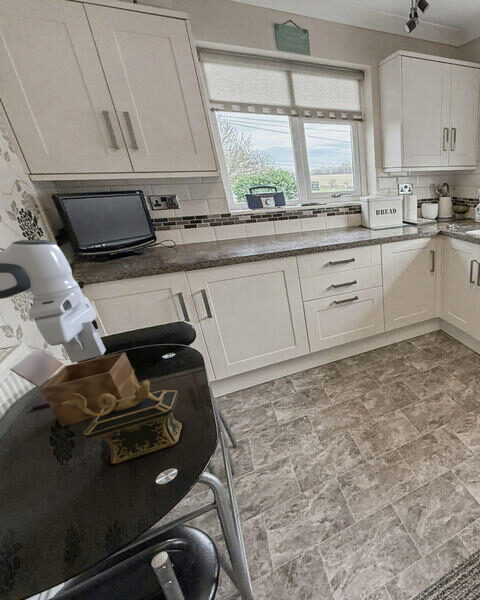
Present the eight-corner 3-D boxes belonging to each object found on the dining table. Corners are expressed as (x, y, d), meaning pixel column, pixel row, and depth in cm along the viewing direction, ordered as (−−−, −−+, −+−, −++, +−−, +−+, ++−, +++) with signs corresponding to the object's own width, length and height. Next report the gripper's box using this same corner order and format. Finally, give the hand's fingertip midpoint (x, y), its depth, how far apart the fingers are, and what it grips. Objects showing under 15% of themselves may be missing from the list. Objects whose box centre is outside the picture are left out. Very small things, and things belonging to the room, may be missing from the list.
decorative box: (190, 419, 88) (165, 356, 81) (184, 443, 80) (156, 375, 73) (99, 447, 81) (63, 381, 74) (82, 476, 73) (40, 405, 66)
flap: (39, 387, 86) (38, 387, 86) (63, 364, 97) (62, 364, 97) (10, 368, 82) (9, 369, 82) (39, 347, 93) (38, 347, 93)
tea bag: (102, 355, 93) (87, 323, 90) (71, 362, 90) (55, 330, 87) (106, 350, 96) (91, 319, 93) (76, 357, 94) (60, 325, 90)
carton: (61, 426, 90) (40, 389, 86) (82, 400, 101) (64, 366, 97) (127, 408, 96) (109, 372, 91) (139, 385, 107) (125, 352, 102)
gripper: (65, 291, 95) (85, 333, 100) (23, 315, 77) (50, 365, 82) (92, 287, 97) (110, 328, 102) (57, 309, 80) (82, 358, 85)
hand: (83, 345), depth 92 cm, fingers closed on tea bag, 4 cm apart
